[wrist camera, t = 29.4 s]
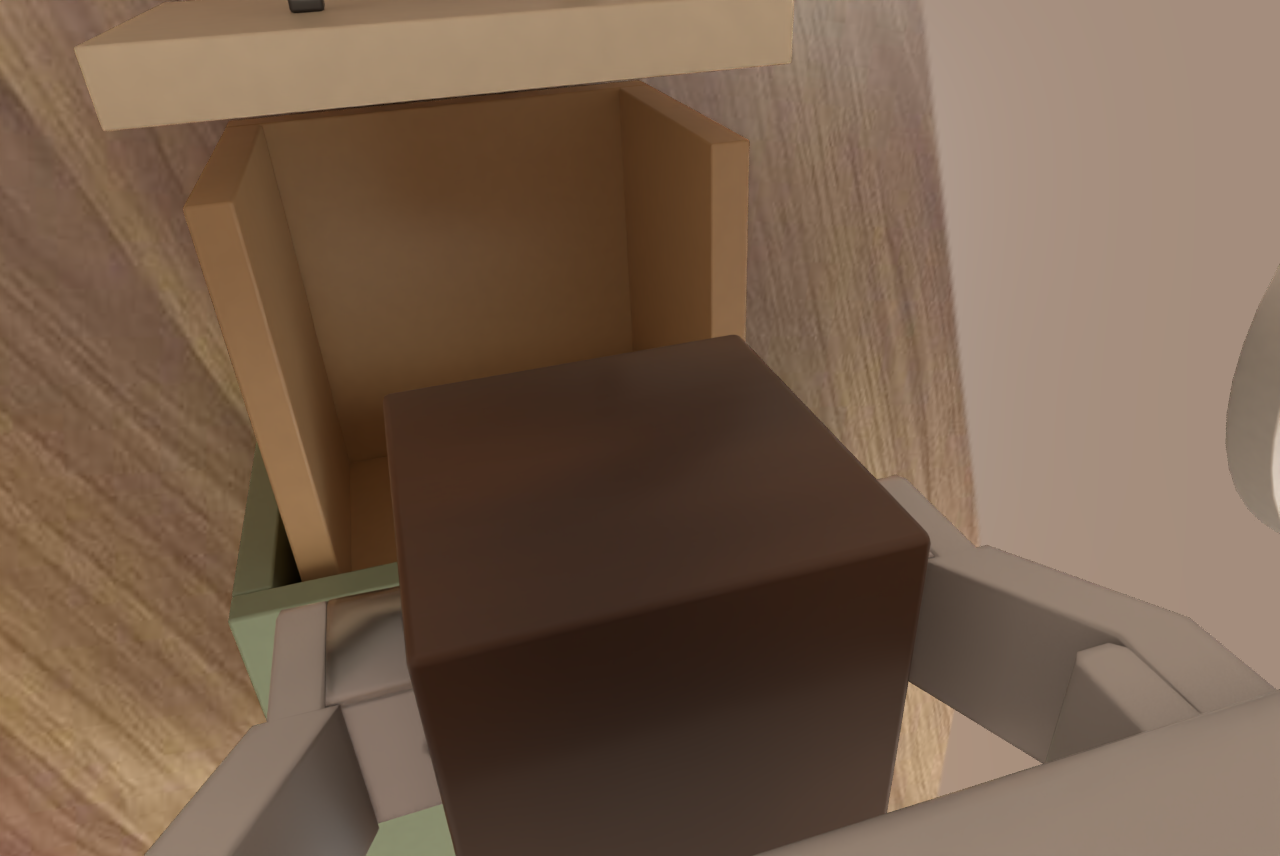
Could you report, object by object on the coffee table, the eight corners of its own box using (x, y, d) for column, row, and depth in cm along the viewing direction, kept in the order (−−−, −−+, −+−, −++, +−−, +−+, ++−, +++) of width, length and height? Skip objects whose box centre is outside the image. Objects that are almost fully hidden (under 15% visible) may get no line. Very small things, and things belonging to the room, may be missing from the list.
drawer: (80, -278, 17) (-87, -401, 10) (652, -280, 19) (811, -380, 13) (302, 475, 26) (289, 664, 19) (671, 405, 28) (771, 552, 22)
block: (738, 330, 11) (937, 536, 8) (734, 594, 14) (884, 851, 10) (380, 392, 10) (405, 663, 6) (442, 666, 13) (487, 980, 9)
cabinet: (262, 397, 25) (225, 622, 17) (679, 327, 28) (815, 492, 20) (361, 720, 32) (368, 985, 24) (686, 638, 35) (788, 852, 27)
